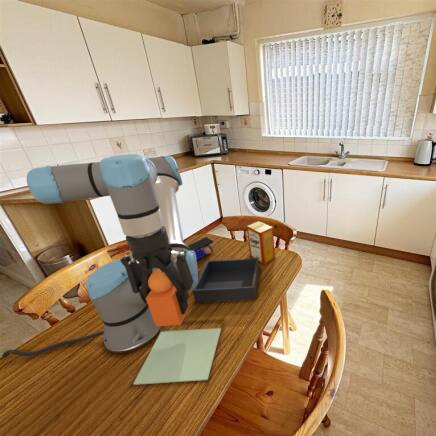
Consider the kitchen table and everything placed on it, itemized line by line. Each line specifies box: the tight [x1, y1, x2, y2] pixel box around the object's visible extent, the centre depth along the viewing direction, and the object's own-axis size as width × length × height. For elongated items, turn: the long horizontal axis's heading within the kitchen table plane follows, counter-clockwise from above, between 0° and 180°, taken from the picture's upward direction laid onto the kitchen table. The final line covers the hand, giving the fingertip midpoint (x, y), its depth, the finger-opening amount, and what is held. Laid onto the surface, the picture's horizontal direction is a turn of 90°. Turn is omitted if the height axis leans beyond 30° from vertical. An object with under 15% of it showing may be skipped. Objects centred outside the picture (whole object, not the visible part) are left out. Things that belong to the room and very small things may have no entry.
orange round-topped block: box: [146, 269, 190, 327], centre depth 58 cm, size 6×6×14 cm
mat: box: [133, 327, 222, 386], centre depth 66 cm, size 18×18×1 cm
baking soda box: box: [245, 220, 276, 265], centre depth 103 cm, size 10×6×16 cm
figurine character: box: [187, 236, 214, 260], centre depth 106 cm, size 7×8×15 cm
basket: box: [192, 257, 260, 303], centre depth 89 cm, size 21×18×6 cm
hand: (171, 310), depth 60 cm, fingers closed on orange round-topped block, 6 cm apart
